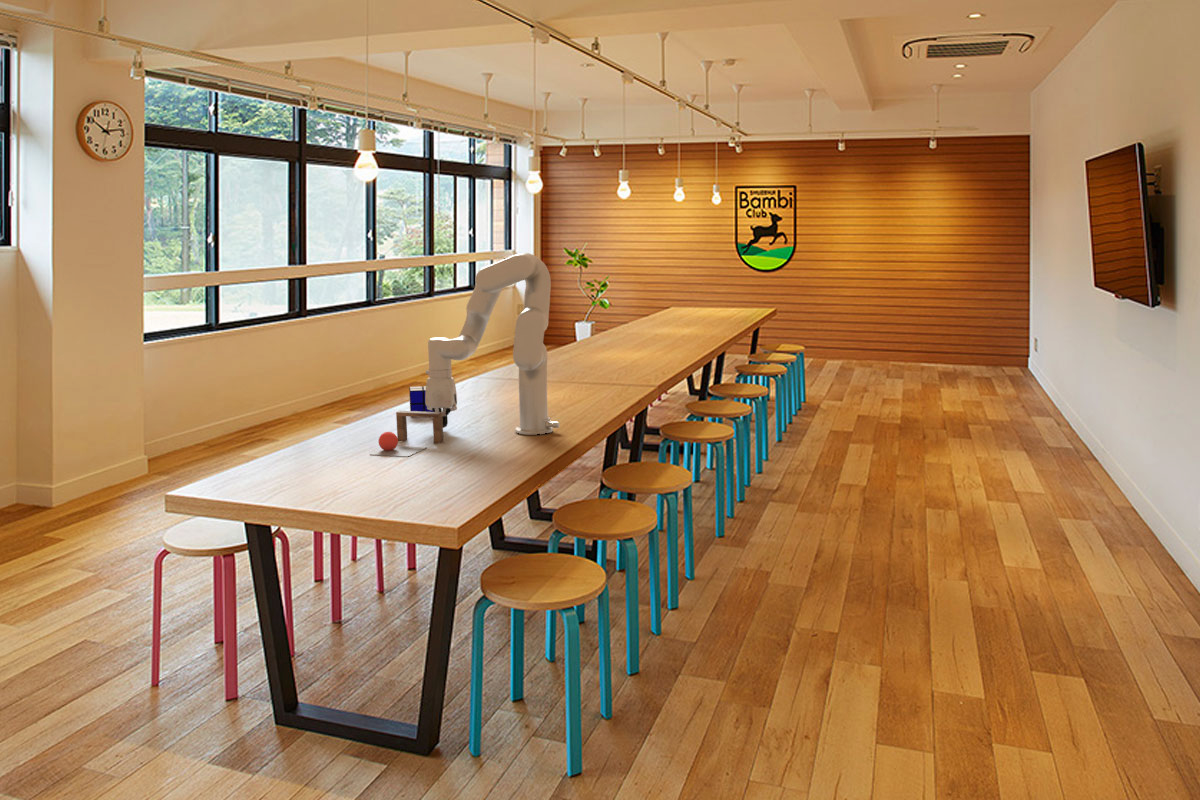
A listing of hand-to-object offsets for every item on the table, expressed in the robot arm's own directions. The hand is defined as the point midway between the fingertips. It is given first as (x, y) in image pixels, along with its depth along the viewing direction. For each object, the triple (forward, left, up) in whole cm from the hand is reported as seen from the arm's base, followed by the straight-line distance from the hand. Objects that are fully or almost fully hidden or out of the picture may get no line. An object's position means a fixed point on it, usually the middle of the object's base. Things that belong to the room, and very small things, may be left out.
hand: (442, 426), depth 345 cm
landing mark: (0, +32, -2) cm, 32 cm away
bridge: (0, +17, -2) cm, 17 cm away
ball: (+4, +32, +2) cm, 32 cm away
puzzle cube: (+21, -28, -2) cm, 35 cm away
